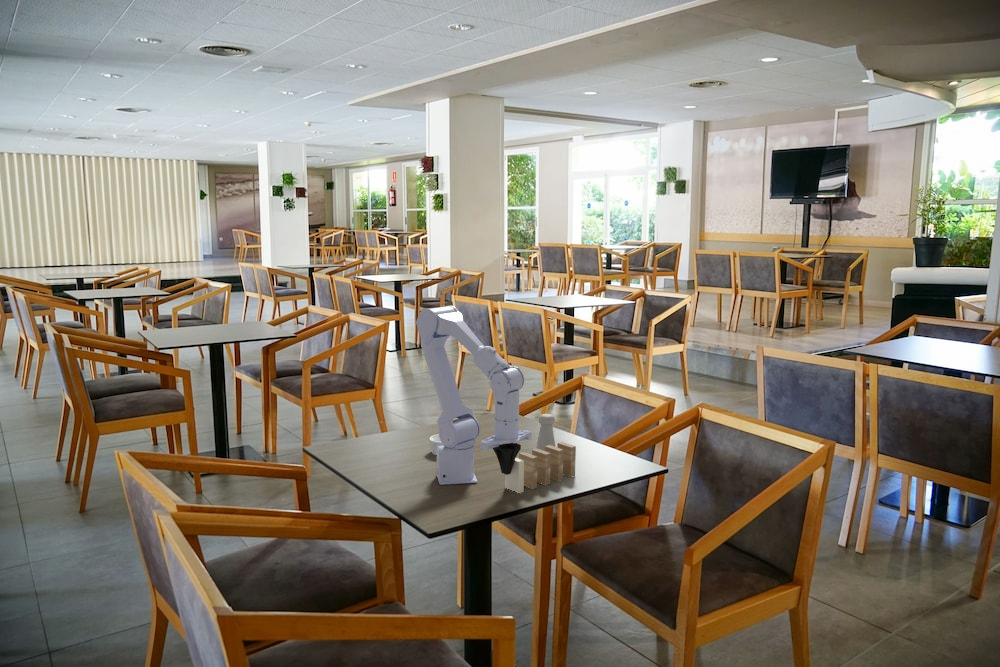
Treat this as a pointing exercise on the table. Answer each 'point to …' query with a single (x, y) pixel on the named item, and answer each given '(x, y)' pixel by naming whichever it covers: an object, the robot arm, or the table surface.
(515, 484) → the front domino
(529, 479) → the domino
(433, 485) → the table surface
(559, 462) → the domino
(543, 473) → the domino
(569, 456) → the domino
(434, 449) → the ramekin
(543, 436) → the salt shaker
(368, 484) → the table surface
